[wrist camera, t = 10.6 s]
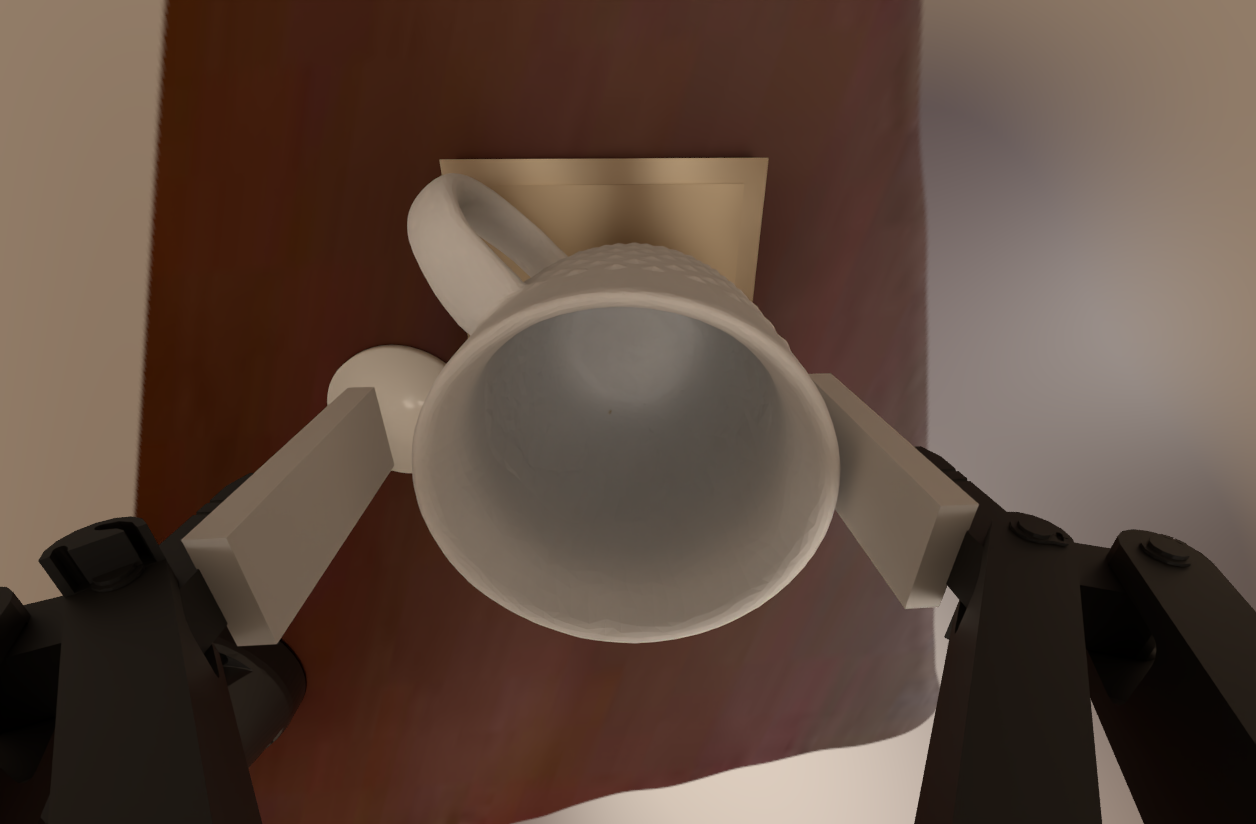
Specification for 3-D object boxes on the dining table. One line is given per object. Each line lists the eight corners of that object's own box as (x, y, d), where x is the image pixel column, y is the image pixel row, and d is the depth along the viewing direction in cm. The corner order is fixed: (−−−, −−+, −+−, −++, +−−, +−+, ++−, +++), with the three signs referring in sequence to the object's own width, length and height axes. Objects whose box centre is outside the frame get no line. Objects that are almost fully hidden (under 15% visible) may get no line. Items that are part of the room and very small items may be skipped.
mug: (410, 265, 23) (172, 375, 11) (581, 76, 19) (489, -45, 8) (624, 469, 28) (610, 693, 16) (791, 348, 24) (927, 523, 13)
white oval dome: (366, 471, 31) (359, 481, 30) (312, 353, 27) (302, 360, 26) (491, 455, 31) (488, 464, 30) (454, 333, 27) (449, 339, 26)
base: (494, 423, 29) (484, 446, 27) (455, 159, 23) (437, 159, 21) (727, 417, 30) (738, 440, 27) (753, 157, 23) (770, 157, 21)
